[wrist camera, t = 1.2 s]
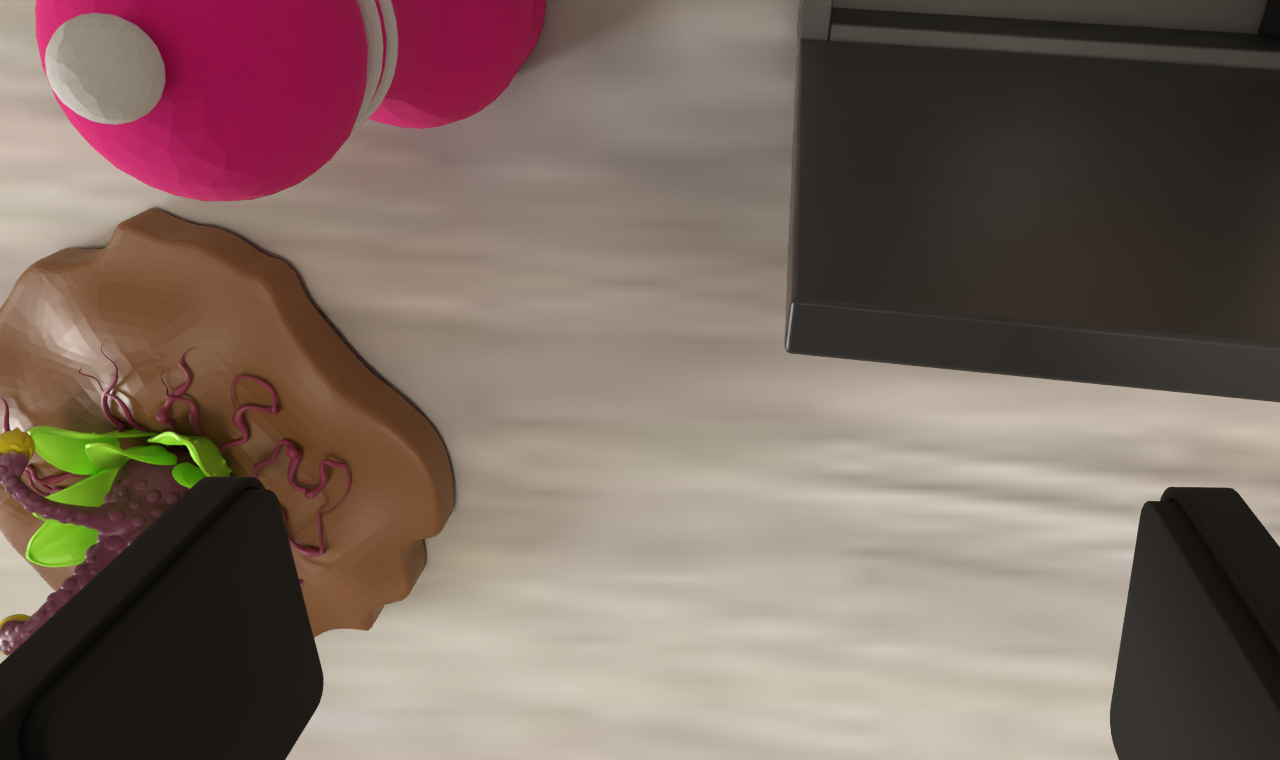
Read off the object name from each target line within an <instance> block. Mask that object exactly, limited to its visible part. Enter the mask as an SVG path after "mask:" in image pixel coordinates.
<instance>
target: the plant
mask: <svg viewBox="0 0 1280 760" xmlns="http://www.w3.org/2000/svg"><path fill="white" fill-rule="evenodd" d="M204 477H255V478H257V479H259V480H260V481H261V482H262V484H263V485H264V487H265V489H266V490H271V491H273V492H274V493H275V494H276V496H277V498H278V500H279V503H280V507H281V511H282V515H283V519H284V522H285V526H286V530H287V534H288V538H289V542H290V546H291V550H292V554H293V558H294V562H295V566H296V570H297V574H298V577H299V581H300V585H301V589H302V593H303V597H304V601H305V605H306V609H307V613H308V617H309V621H310V625H311V629H312V633H313V636H314V638H315V637H316V636H318V635H319V634H321V633H323V632H325V631H329V630H332V629H359V630H365V631H366V630H369V629H370V628H371V627H372V626H373V624H374V622H375V621H376V619H377V617H378V616H379V614H380V612H381V610H382V609H383V607H384V605H385V604H389V603H392V602H396V601H401V600H403V599H405V598H406V597H407V596H408V595H409V594H410V592H411V590H412V588H413V587H414V585H415V583H416V581H417V579H418V578H419V576H420V574H421V572H422V571H423V569H424V566H425V562H426V553H425V549H424V545H423V541H422V539H426V538H430V537H434V536H436V535H438V534H439V533H440V532H441V531H442V529H443V528H444V526H445V524H446V522H447V520H448V518H449V517H450V515H451V513H452V510H453V506H454V490H453V477H452V472H451V467H450V462H449V459H448V455H447V453H446V450H445V447H444V445H443V443H442V441H441V439H440V437H439V436H438V434H437V432H436V431H435V429H434V428H433V427H432V425H431V424H430V423H429V422H428V421H427V420H426V419H425V418H424V417H423V416H422V414H421V413H420V412H419V411H417V410H416V409H415V408H414V407H413V406H412V405H411V404H410V403H409V402H408V401H406V400H405V399H404V398H403V397H402V396H400V395H399V394H398V393H397V392H395V391H394V390H393V389H392V388H390V387H389V386H388V385H386V384H385V383H384V382H383V381H381V380H380V379H379V378H378V377H376V376H375V375H374V374H373V373H372V372H371V371H369V370H368V369H367V368H366V367H365V365H364V364H363V363H362V362H361V361H360V360H359V359H358V358H357V357H356V356H355V355H354V353H353V352H352V351H351V350H350V349H349V348H348V346H347V345H346V344H345V343H344V342H343V341H342V340H341V338H340V337H339V336H338V335H337V334H336V333H335V331H334V330H333V329H332V328H331V327H330V325H329V324H328V323H327V322H326V321H325V319H324V318H323V317H322V316H321V315H320V313H319V312H318V311H317V310H316V309H315V307H314V306H313V304H312V303H311V302H310V300H309V299H308V297H307V295H306V293H305V292H304V290H303V288H302V285H301V283H300V281H299V278H298V276H297V275H296V273H295V272H294V271H293V269H292V268H291V267H290V266H289V265H288V264H286V263H285V262H284V261H282V260H280V259H276V258H272V257H270V256H268V255H265V254H263V253H262V252H260V251H258V250H257V249H255V248H254V247H253V246H251V245H250V244H249V243H247V242H245V241H244V240H242V239H240V238H239V237H237V236H235V235H233V234H231V233H229V232H227V231H224V230H221V229H218V228H213V227H208V226H201V225H195V224H192V223H189V222H186V221H183V220H181V219H179V218H176V217H174V216H171V215H169V214H167V213H165V212H163V211H161V210H159V209H156V208H152V209H149V210H147V211H145V212H142V213H140V214H138V215H136V216H134V217H132V218H130V219H128V220H126V221H123V222H122V223H120V224H119V225H118V226H117V228H116V229H115V231H114V234H113V236H112V238H111V240H110V242H109V243H108V244H107V246H106V247H105V248H102V249H78V248H68V249H64V250H60V251H58V252H56V253H54V254H52V255H50V256H47V257H45V258H43V259H41V260H39V261H37V262H35V263H34V264H33V265H31V266H30V267H29V268H28V269H27V270H26V271H25V272H24V273H23V274H22V275H21V276H20V278H19V279H18V280H17V282H16V284H15V286H14V288H13V290H12V292H11V294H10V295H9V297H8V299H7V300H6V302H5V303H4V304H3V306H2V307H1V309H0V531H1V532H2V533H3V535H4V536H5V537H6V539H7V540H8V541H9V543H10V544H11V545H12V546H13V547H14V548H15V549H16V551H17V552H18V553H19V554H20V555H21V556H22V557H23V558H24V559H25V560H26V561H27V562H28V563H29V564H30V565H31V566H32V567H33V568H34V569H35V570H36V571H37V572H38V573H39V575H40V576H41V577H42V578H43V579H44V580H45V581H46V582H47V583H48V584H49V585H50V586H51V587H52V588H53V589H54V590H55V591H56V592H55V593H52V594H50V595H49V596H48V597H47V600H46V602H45V603H44V604H43V605H42V606H41V608H40V609H39V610H38V611H37V612H36V613H34V614H33V615H32V616H31V617H30V616H27V615H23V614H16V615H11V616H9V617H7V618H5V619H3V620H2V622H1V623H0V653H3V654H5V655H7V656H10V655H11V654H12V653H13V652H14V651H15V650H16V649H17V648H18V647H19V646H20V645H21V644H23V643H24V642H25V641H26V640H27V639H28V638H29V637H30V636H31V635H32V634H33V633H34V632H36V631H37V630H38V629H39V628H40V627H41V626H42V625H43V624H44V623H45V622H46V621H47V620H49V619H50V618H51V617H52V616H53V615H54V614H55V613H56V612H57V611H58V610H59V609H60V608H62V607H63V606H64V605H65V604H66V603H67V602H68V601H69V600H70V599H71V598H72V597H73V596H75V595H76V594H77V593H78V592H79V591H80V590H81V589H82V588H83V587H84V586H85V585H86V584H88V583H89V582H90V581H91V580H92V579H93V578H94V577H95V576H96V575H97V574H98V573H99V572H101V571H102V570H103V569H104V568H105V567H106V566H107V565H108V564H109V563H110V562H111V561H112V560H114V559H115V558H116V557H117V556H118V555H119V554H120V553H121V552H122V551H123V550H124V549H125V548H127V547H128V546H129V545H130V544H131V543H132V542H133V541H134V540H135V539H136V538H137V537H138V536H140V535H141V534H142V533H143V532H144V531H145V530H146V529H147V528H148V527H149V526H150V525H151V524H152V523H154V522H155V521H156V520H157V519H158V518H159V517H160V516H161V515H162V514H163V513H164V512H165V511H167V510H168V509H169V508H170V507H171V506H172V505H173V504H174V503H175V502H176V501H177V500H178V499H180V498H181V497H182V496H183V495H184V494H185V493H186V492H187V491H188V490H189V489H190V488H191V487H193V486H194V485H195V484H196V483H197V482H198V481H199V480H201V479H203V478H204Z"/></svg>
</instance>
